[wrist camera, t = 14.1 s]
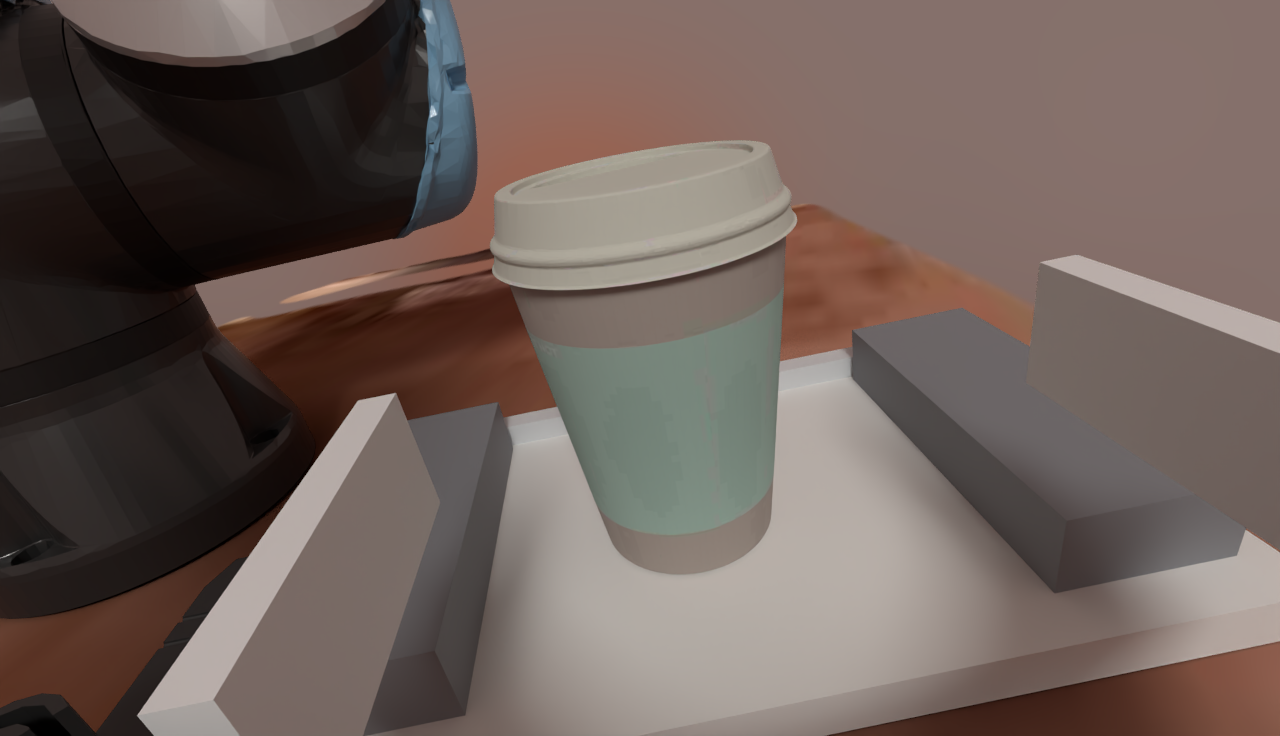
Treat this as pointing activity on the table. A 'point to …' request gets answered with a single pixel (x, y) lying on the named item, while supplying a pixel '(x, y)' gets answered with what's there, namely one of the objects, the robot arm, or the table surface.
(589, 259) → the coffee cup
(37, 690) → the table surface
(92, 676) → the table surface
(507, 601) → the rail plate
